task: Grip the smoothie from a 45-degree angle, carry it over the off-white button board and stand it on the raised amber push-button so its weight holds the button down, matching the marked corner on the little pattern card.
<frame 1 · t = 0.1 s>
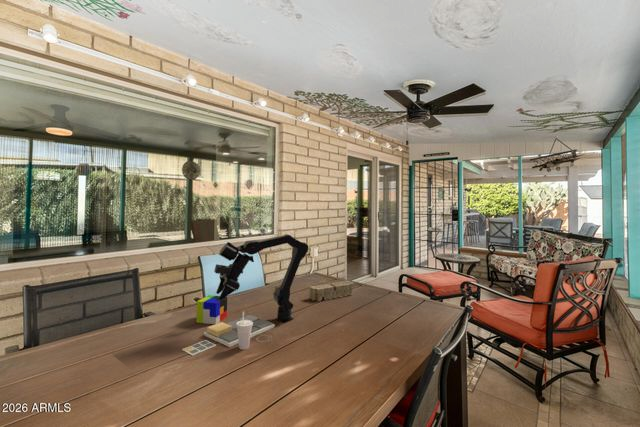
hand: (218, 296, 131), 15 cm above the table, tool tilted 35°, fingers open, 9 cm apart
tan stone block: (332, 297, 184), on the table
pattern card: (199, 347, 114), on the table
puzzle toy: (212, 319, 143), on the table
button board: (240, 330, 130), on the table
smoothie: (244, 347, 116), on the table
amber button: (219, 329, 126), point 2 cm above the table, slide at 0.0 cm
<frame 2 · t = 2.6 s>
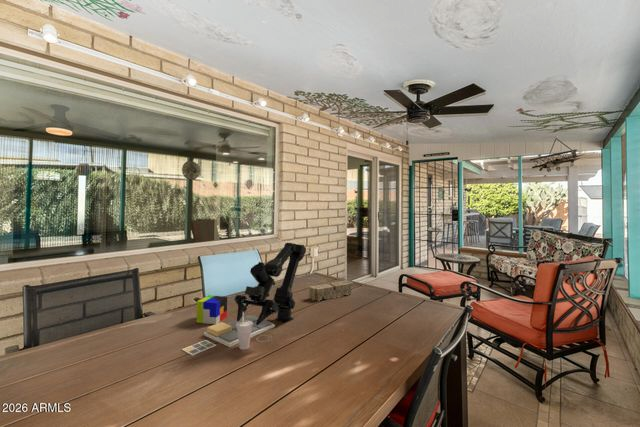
hand: (246, 322, 117), 9 cm above the table, tool tilted 45°, fingers open, 9 cm apart
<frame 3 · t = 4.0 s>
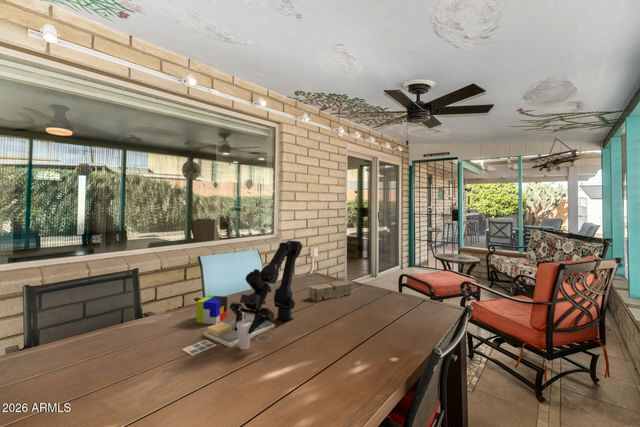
hand: (242, 332, 114), 7 cm above the table, tool tilted 45°, fingers closed on smoothie, 6 cm apart
smoothie: (244, 347, 116), on the table, touching gripper
everything else where it was.
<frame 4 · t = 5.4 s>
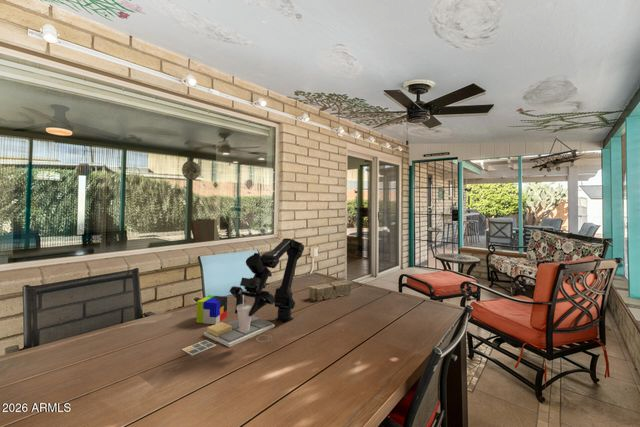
hand: (242, 314, 114), 13 cm above the table, tool tilted 45°, fingers closed on smoothie, 6 cm apart
smoothie: (244, 330, 116), point 6 cm above the table, touching gripper
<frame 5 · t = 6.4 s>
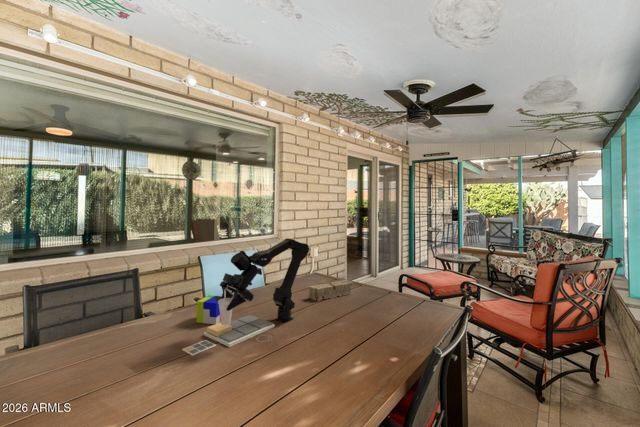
hand: (223, 308, 120), 13 cm above the table, tool tilted 45°, fingers closed on smoothie, 6 cm apart
smoothie: (225, 323, 122), point 6 cm above the table, touching gripper
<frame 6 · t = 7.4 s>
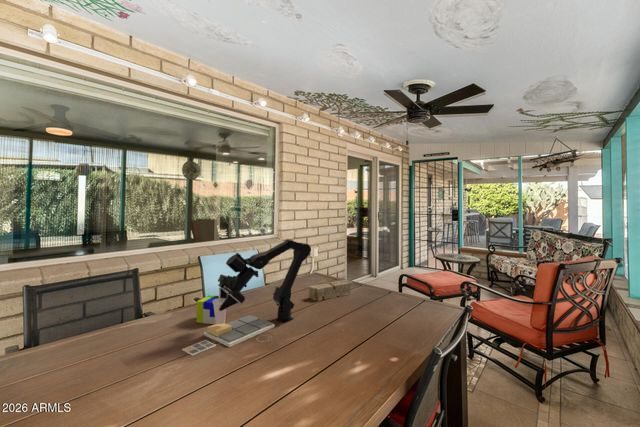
hand: (217, 308, 125), 12 cm above the table, tool tilted 45°, fingers closed on smoothie, 6 cm apart
smoothie: (220, 323, 126), point 5 cm above the table, touching gripper
when the fingers open (11 cm above the table, at t = 7.9 s): smoothie drops 2 cm, resting on amber button.
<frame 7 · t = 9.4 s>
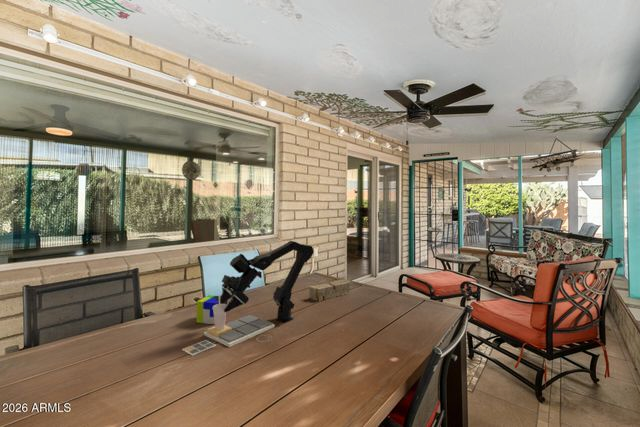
hand: (221, 308, 126), 11 cm above the table, tool tilted 45°, fingers open, 9 cm apart
smoothie: (219, 328, 126), point 2 cm above the table, touching amber button
amber button: (219, 331, 126), point 1 cm above the table, slide at -0.8 cm, touching button board, smoothie
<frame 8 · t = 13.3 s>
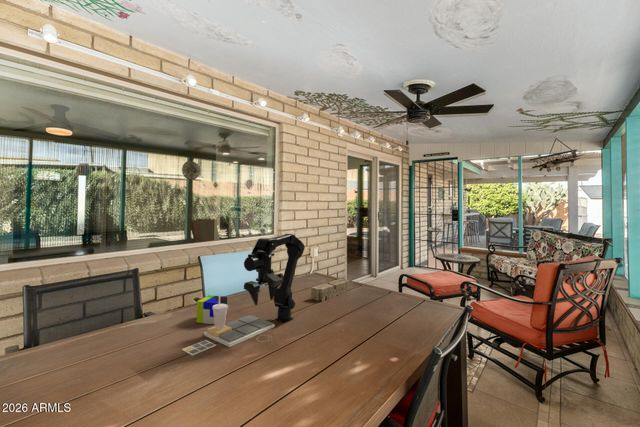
hand: (264, 302, 130), 13 cm above the table, tool pointing down, fingers open, 9 cm apart
at the end: smoothie 0.1 cm from the target spot on the button board, point 2.4 cm above the button board's base; smoothie tilted 0°; amber button slide at -0.8 cm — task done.
